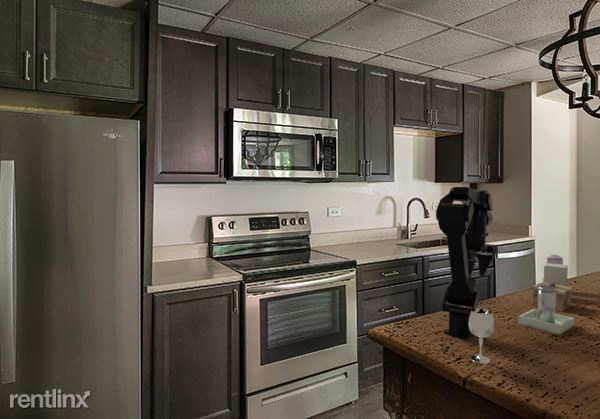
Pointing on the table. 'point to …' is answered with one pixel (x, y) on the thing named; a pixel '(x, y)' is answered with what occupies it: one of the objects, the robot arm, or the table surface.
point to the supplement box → (555, 274)
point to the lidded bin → (561, 296)
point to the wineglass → (481, 329)
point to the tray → (558, 328)
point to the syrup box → (553, 259)
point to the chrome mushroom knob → (546, 303)
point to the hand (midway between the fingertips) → (474, 278)
